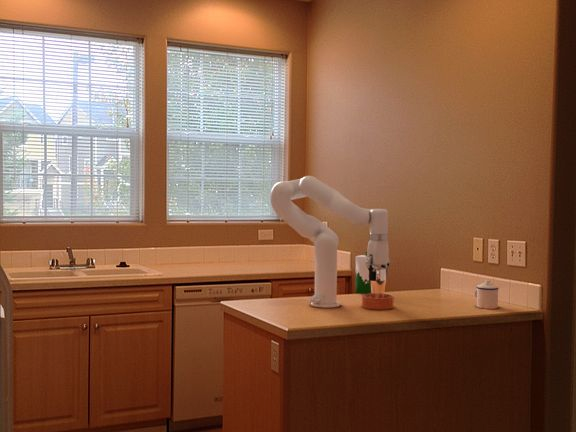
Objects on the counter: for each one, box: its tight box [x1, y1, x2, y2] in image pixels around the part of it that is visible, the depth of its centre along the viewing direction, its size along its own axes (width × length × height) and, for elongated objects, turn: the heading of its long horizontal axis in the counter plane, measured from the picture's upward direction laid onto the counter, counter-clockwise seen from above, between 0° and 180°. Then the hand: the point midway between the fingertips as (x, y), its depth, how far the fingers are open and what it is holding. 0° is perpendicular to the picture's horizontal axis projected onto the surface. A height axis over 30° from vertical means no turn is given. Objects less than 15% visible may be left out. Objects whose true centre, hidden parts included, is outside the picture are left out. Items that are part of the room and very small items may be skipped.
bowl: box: [361, 293, 395, 311], centre depth 279 cm, size 13×13×5 cm
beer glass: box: [370, 266, 387, 298], centre depth 279 cm, size 7×7×15 cm
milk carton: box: [354, 251, 373, 295], centre depth 318 cm, size 9×9×20 cm
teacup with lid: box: [474, 279, 499, 310], centre depth 283 cm, size 12×9×12 cm
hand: (378, 279), depth 279 cm, fingers closed on beer glass, 7 cm apart
